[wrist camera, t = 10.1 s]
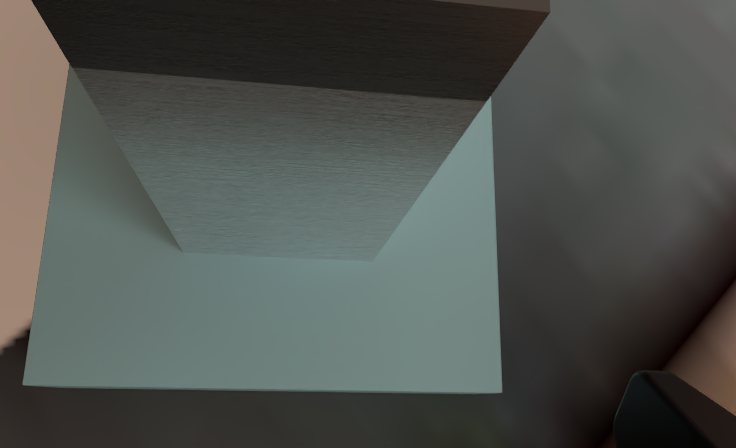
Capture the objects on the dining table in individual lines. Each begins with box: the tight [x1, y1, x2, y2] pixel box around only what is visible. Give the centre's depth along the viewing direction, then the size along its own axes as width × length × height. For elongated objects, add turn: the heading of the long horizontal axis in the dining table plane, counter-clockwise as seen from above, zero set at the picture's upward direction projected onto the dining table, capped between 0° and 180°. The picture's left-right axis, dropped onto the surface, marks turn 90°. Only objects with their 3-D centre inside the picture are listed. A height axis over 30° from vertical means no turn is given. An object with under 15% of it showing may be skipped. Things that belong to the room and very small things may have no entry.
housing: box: [32, 0, 550, 262], centre depth 12 cm, size 5×5×12 cm
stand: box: [23, 64, 502, 394], centre depth 20 cm, size 12×12×3 cm
